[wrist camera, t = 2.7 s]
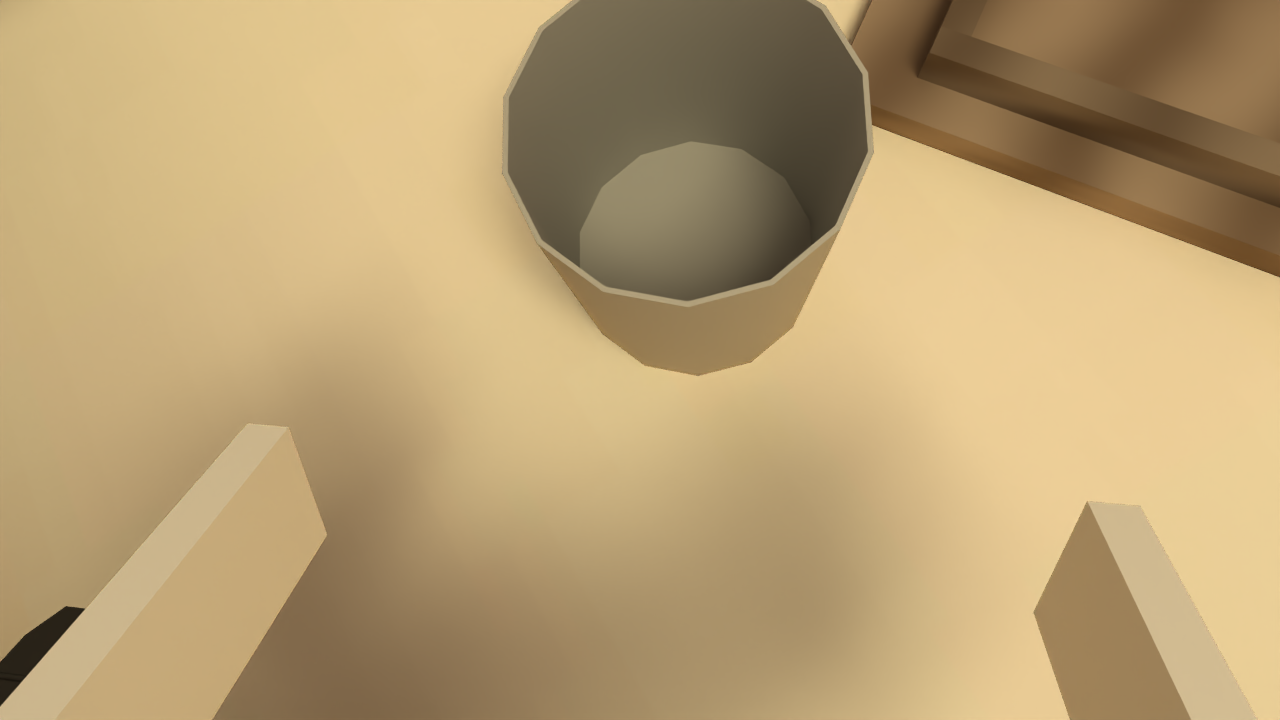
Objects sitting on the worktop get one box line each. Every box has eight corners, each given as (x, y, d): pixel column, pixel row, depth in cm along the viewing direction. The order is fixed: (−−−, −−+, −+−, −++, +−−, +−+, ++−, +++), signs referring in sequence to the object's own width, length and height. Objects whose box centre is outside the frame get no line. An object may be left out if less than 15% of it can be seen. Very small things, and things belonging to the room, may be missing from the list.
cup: (541, 212, 27) (445, 58, 18) (741, 108, 27) (756, -104, 18) (644, 416, 26) (601, 372, 16) (857, 307, 26) (946, 195, 16)
